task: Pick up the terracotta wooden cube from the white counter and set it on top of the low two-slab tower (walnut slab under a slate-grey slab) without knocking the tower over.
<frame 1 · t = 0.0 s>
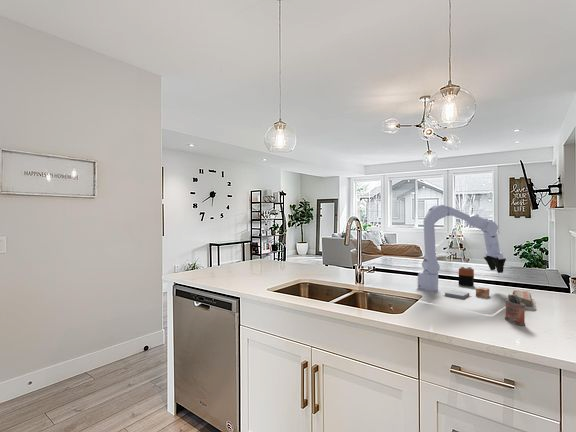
hand: (496, 271, 167), 11 cm above the worktop, tool pointing down, fingers open, 7 cm apart
slate slab: (457, 295, 157), point 1 cm above the worktop, touching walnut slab
red snack pouch: (514, 322, 122), on the worktop
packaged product: (521, 305, 147), on the worktop
terracotta cube: (482, 297, 157), on the worktop
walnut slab: (457, 299, 157), on the worktop, touching slate slab
battery: (466, 285, 183), on the worktop
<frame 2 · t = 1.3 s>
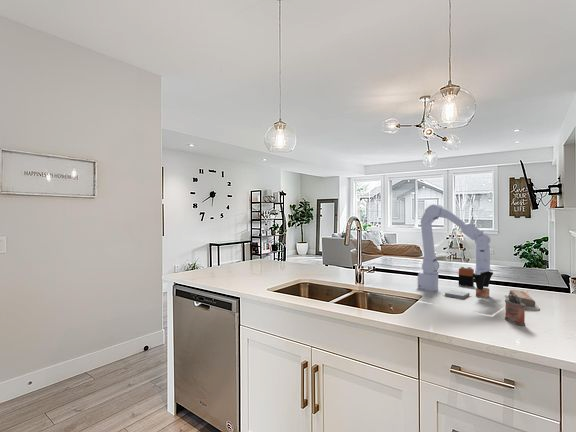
hand: (482, 288, 157), 4 cm above the worktop, tool pointing down, fingers open, 7 cm apart
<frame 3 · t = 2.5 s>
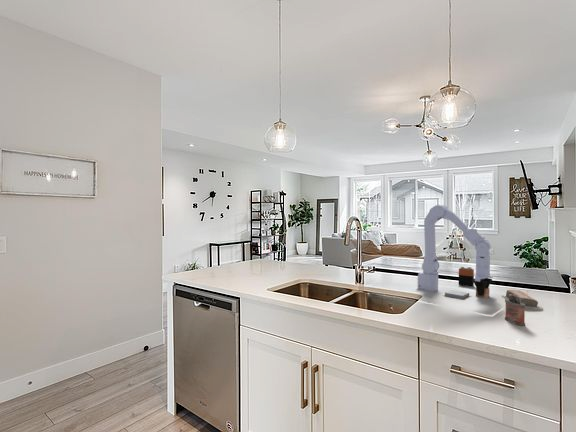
hand: (482, 294, 157), 1 cm above the worktop, tool pointing down, fingers closed on terracotta cube, 4 cm apart
slate slab: (457, 295, 157), point 1 cm above the worktop
terracotta cube: (482, 297, 157), on the worktop, touching gripper
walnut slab: (457, 299, 157), on the worktop
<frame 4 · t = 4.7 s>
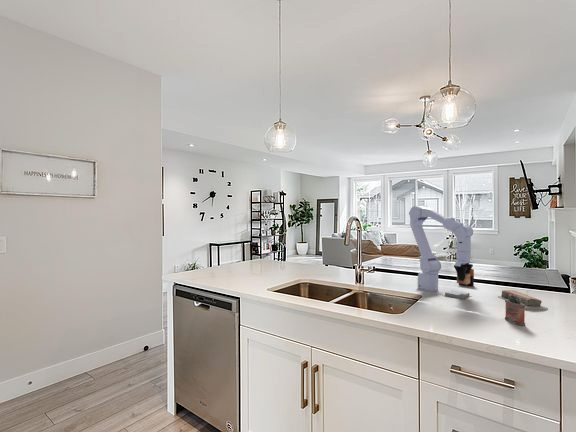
hand: (463, 279, 157), 8 cm above the worktop, tool pointing down, fingers closed on terracotta cube, 4 cm apart
slate slab: (457, 295, 157), point 1 cm above the worktop, touching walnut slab
terracotta cube: (463, 283, 157), point 7 cm above the worktop, touching gripper
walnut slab: (457, 299, 157), on the worktop, touching slate slab
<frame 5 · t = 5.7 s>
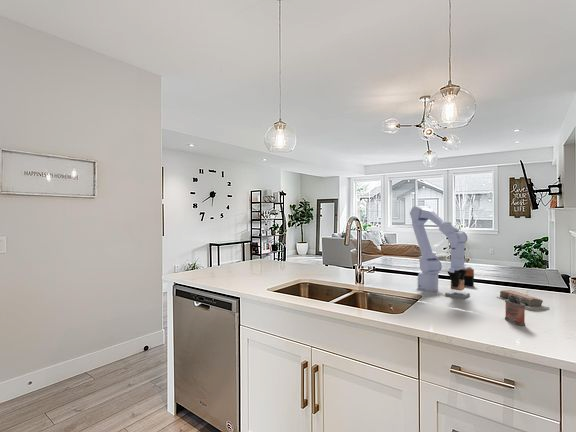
hand: (457, 286, 157), 5 cm above the worktop, tool pointing down, fingers closed on terracotta cube, 4 cm apart
terracotta cube: (457, 289, 157), point 4 cm above the worktop, touching gripper
when the fingers open (5 cm above the worktop, at t = 6.5 s): terracotta cube drops 2 cm, resting on slate slab.
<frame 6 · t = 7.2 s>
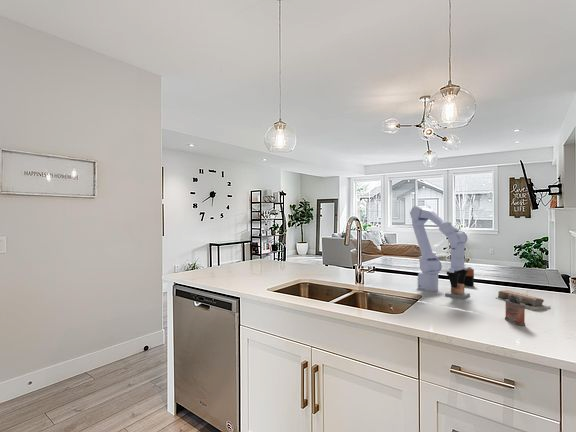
hand: (457, 286, 157), 5 cm above the worktop, tool pointing down, fingers open, 7 cm apart
slate slab: (457, 296, 157), point 1 cm above the worktop, touching terracotta cube, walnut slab
terracotta cube: (457, 293, 157), point 2 cm above the worktop, touching slate slab
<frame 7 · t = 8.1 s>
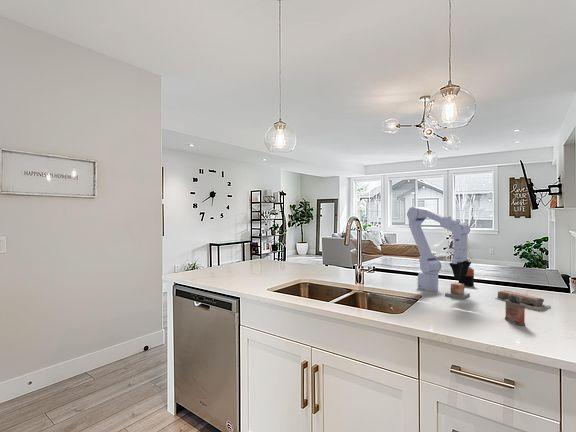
hand: (460, 277, 157), 9 cm above the worktop, tool pointing down, fingers open, 7 cm apart
slate slab: (457, 296, 157), point 1 cm above the worktop, touching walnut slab
terracotta cube: (457, 293, 157), point 2 cm above the worktop
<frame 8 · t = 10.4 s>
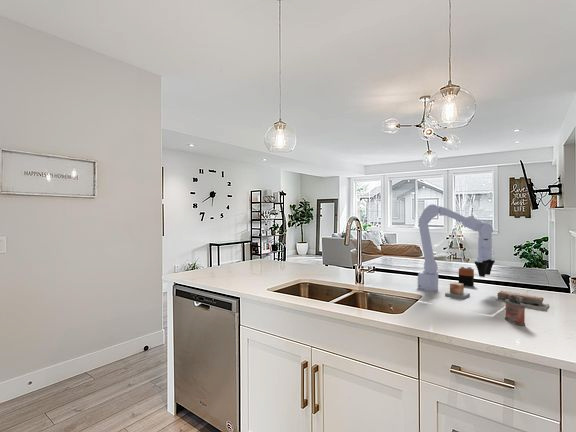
hand: (484, 275, 162), 9 cm above the worktop, tool pointing down, fingers open, 7 cm apart
slate slab: (457, 296, 157), point 1 cm above the worktop, touching terracotta cube, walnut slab
terracotta cube: (456, 292, 157), point 2 cm above the worktop, touching slate slab
at the end: terracotta cube 0.4 cm off-centre on the slate slab, point 1.5 cm above the slate slab's base; terracotta cube tilted 0°; slate slab 0.1 cm from the target spot, point 0.6 cm above the worktop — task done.
